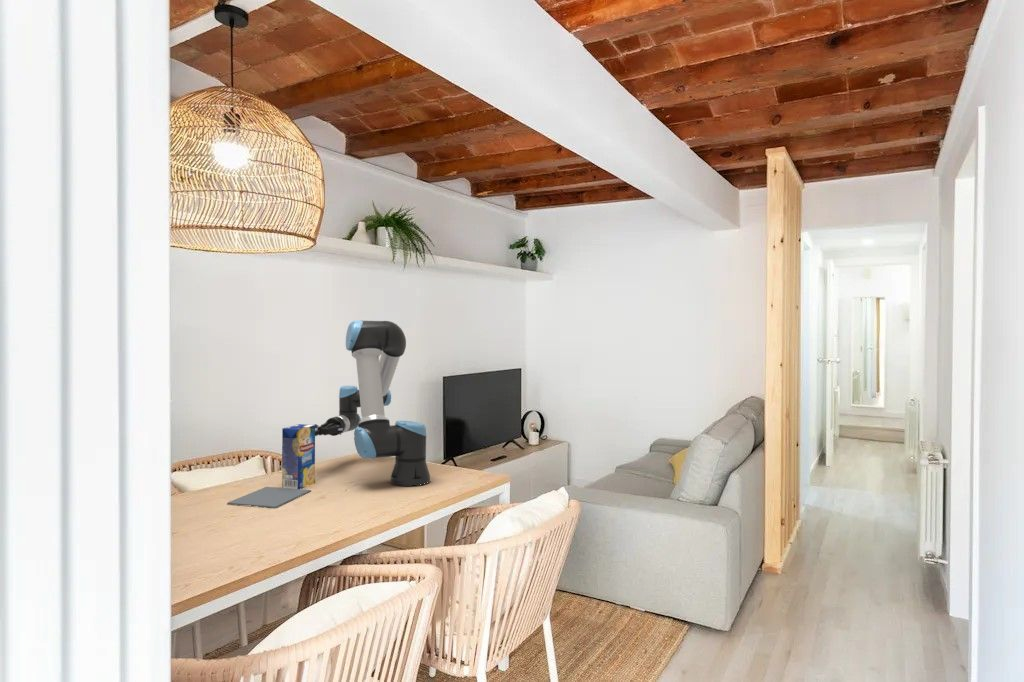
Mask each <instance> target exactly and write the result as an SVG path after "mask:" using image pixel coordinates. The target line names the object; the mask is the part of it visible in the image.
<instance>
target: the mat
mask: <svg viewBox="0 0 1024 682" xmlns="http://www.w3.org/2000/svg"><path fill="white" fill-rule="evenodd" d="M311 492H312V490H311V489H303V488H301V489H291V488H282V487H277V486H276V487H275V486H274V487H273V486H265V487H262V488H260V489H257V490H255V491H253V492H250V493H248V494H245V495H242V496H241V497H237V498H236V499H233V500H230V501H228V502H227V503H226V504H227V505H228V504H237V505H236V506H240V505H251V506H250V507H252V506H258V507H257V508H264V507H266V508H267V509H277V508H280V507H282V506H284V505H286V504H289V503H290V502H292V501H294V499H295V500H296V498H297V499H298V497H299V498H301V497H303V496H305V495H307V494H308V493H311ZM306 493H307V494H306ZM302 495H303V496H302ZM300 496H301V497H300ZM266 508H265V509H266Z"/></svg>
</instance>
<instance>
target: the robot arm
mask: <svg viewBox="0 0 1024 682" xmlns="http://www.w3.org/2000/svg"><path fill="white" fill-rule="evenodd" d="M345 348H346V350H347V351H349V352H351V356H352V357H353V359H355V361H356V371H357V372H356V373H357V380H358V381H357V382H358V387H357V386H356V385H342V386H340V387H339V394H338V395H339V396H338V402H339V403H338V404H339V405H338V407H339V410H338V415H337V416H333V417H330V418H328V419H327V420H326V421H325V422H324V423H323V424H321V425H319V424H318V423H317V424H314V425H315V437H318V436H328V435H329V436H333V437H335V436H338V435H340V436H341V435H342V434H344V433H347V432H350V431H353V435H354V436H353V440H354V445H355V450H356V452H357V454H358V455H359V456H360V458H361V459H366V460H367V459H373V460H374V459H377V458H390V457H391V458H392V457H394V458H395V461H394V466H393V469H392V471H391V474H390V483H391V484H392V485H394V484H395V485H394V486H398V485H401V486H400V487H413V486H412V485H419V486H421V485H420V484H424V483H427V482H429V481H430V482H431V474H430V473H431V472H430V470H429V467H428V464H427V436H428V435H427V427H426V426H425V424H424V423H422V422H417V421H410V420H396V421H395V423H394V425H391V423H390V419H389V418H387V417H386V415H385V406H389V405H390V404H391V403H392V393H391V390H390V386H391V383H392V381H393V378H394V375H395V373H396V369H397V366H398V363H399V361H400V357H402V356H403V355H404V354H405V352H406V349H407V340H406V336H405V333H404V330H403V329H402V328H401V327H400V326H399V325H398V324H397V323H395V322H394V321H389V320H362V319H361V320H352V321H351V322H350V323H349V325H348V326H347V331H346V335H345ZM379 357H380V358H379ZM358 408H360V413H361V416H360V414H359V413H358ZM430 482H429V483H430ZM427 484H428V483H427ZM424 485H425V484H424Z"/></svg>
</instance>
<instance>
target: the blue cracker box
mask: <svg viewBox="0 0 1024 682" xmlns="http://www.w3.org/2000/svg"><path fill="white" fill-rule="evenodd" d="M281 431H282V432H281V433H282V436H281V437H282V446H281V447H282V448H281V450H282V451H281V455H282V456H281V460H282V462H281V464H282V465H281V466H282V467H281V469H282V470H281V471H282V472H281V473H282V476H281V480H282V481H281V488H291V489H300V488H301V489H303V487H304V488H306V487H308V486H311V485H313V484H315V483H314V482H316V436H315V424H304V423H303V424H300V423H299V424H295V425H290V426H288V427H282V430H281ZM312 483H313V484H312ZM310 484H311V485H310ZM307 485H308V486H307ZM305 486H306V487H305Z"/></svg>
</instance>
